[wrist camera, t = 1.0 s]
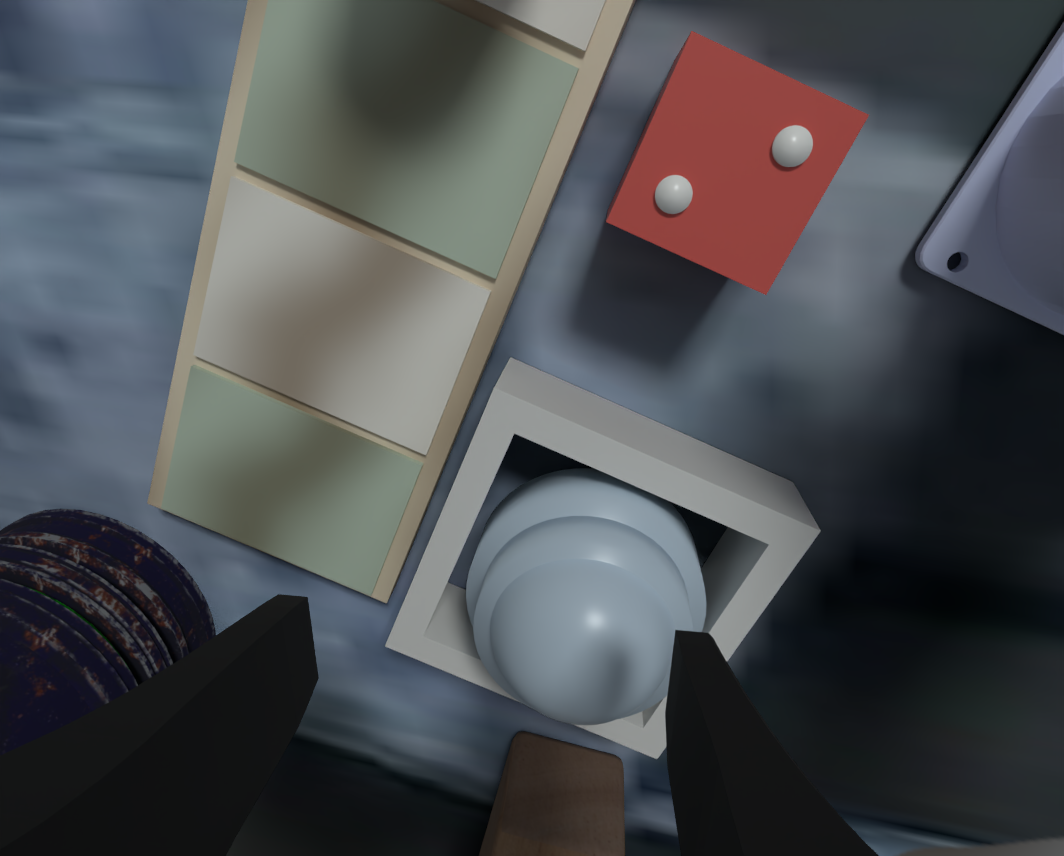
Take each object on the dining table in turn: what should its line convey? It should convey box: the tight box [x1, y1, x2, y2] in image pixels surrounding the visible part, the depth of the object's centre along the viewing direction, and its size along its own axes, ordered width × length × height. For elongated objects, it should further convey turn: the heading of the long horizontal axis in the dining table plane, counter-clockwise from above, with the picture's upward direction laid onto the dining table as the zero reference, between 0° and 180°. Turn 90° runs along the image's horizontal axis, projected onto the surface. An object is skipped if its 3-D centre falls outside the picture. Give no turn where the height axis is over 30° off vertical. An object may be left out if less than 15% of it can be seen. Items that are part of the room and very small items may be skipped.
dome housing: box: [385, 357, 821, 759], centre depth 21 cm, size 10×10×3 cm
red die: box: [606, 31, 869, 295], centre depth 16 cm, size 4×4×4 cm
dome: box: [466, 468, 706, 725], centre depth 18 cm, size 7×7×5 cm
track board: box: [148, 0, 636, 603], centre depth 19 cm, size 9×24×1 cm, turn 157°
